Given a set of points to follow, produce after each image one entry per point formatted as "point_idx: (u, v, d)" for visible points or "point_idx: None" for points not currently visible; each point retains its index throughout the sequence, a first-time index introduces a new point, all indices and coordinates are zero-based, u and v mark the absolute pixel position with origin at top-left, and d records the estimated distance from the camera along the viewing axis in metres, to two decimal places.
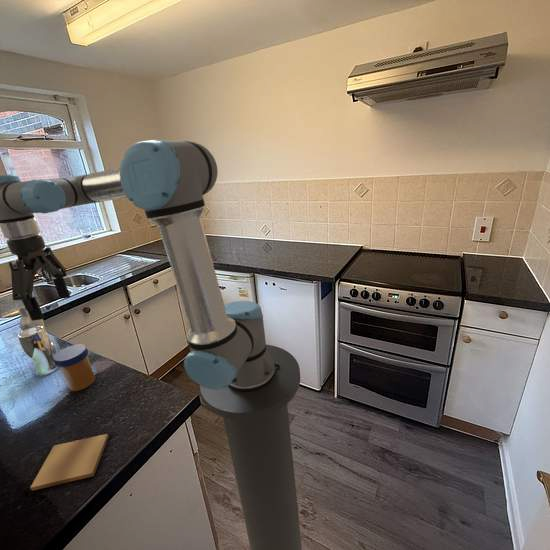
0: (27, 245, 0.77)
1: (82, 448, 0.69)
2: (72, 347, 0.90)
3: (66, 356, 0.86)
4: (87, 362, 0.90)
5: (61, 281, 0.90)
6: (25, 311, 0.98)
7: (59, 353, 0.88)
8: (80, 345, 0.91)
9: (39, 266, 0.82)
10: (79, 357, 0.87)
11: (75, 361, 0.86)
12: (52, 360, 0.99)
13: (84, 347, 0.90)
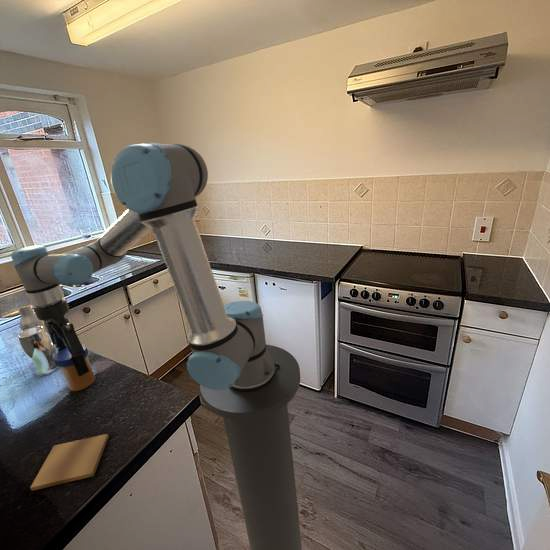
0: None
1: (82, 448, 0.69)
2: None
3: (66, 356, 0.86)
4: (87, 362, 0.90)
5: None
6: (25, 311, 0.98)
7: (59, 353, 0.88)
8: None
9: None
10: None
11: None
12: (52, 360, 0.99)
13: (84, 347, 0.90)
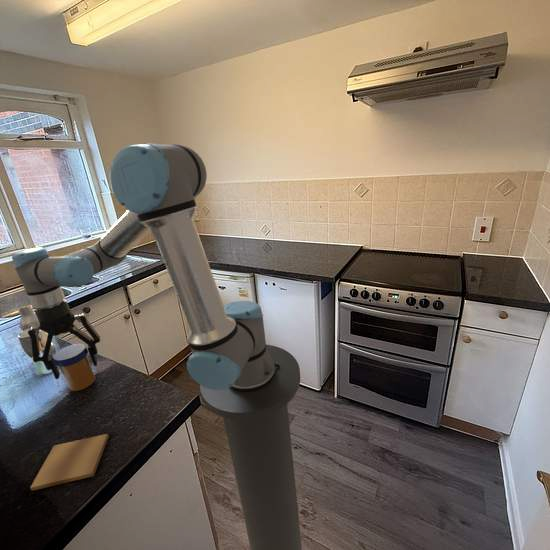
0: (38, 316, 0.80)
1: (82, 448, 0.69)
2: (59, 354, 0.87)
3: (77, 350, 0.88)
4: (87, 362, 0.90)
5: None
6: (25, 311, 0.98)
7: (63, 358, 0.85)
8: (61, 350, 0.89)
9: (59, 332, 0.84)
10: None
11: (86, 348, 0.91)
12: None
13: (70, 345, 0.91)
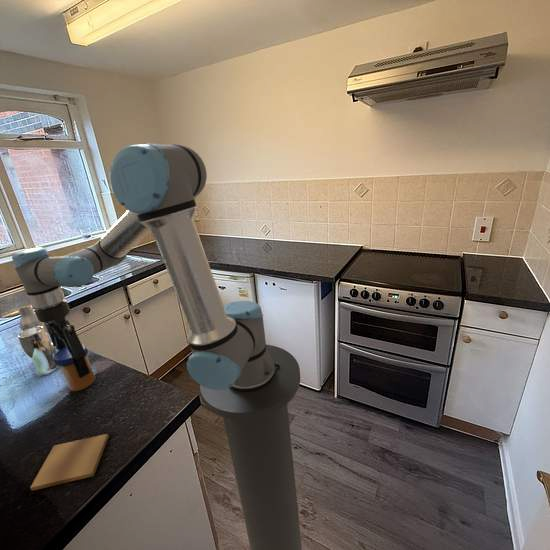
0: None
1: (82, 448, 0.69)
2: (59, 354, 0.87)
3: None
4: (87, 362, 0.90)
5: None
6: (25, 311, 0.98)
7: (63, 358, 0.85)
8: (61, 350, 0.89)
9: None
10: None
11: (86, 348, 0.91)
12: (52, 360, 0.99)
13: None
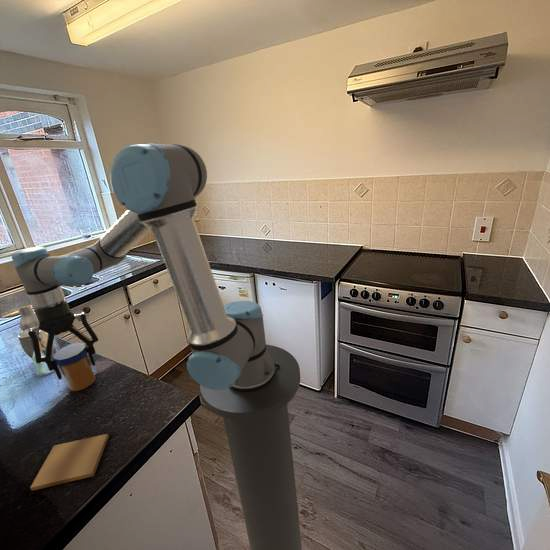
0: (39, 315, 0.80)
1: (82, 448, 0.69)
2: (63, 356, 0.85)
3: (75, 346, 0.90)
4: (87, 362, 0.90)
5: None
6: (25, 311, 0.98)
7: (77, 351, 0.87)
8: (56, 357, 0.85)
9: (59, 331, 0.84)
10: None
11: None
12: None
13: (55, 353, 0.87)
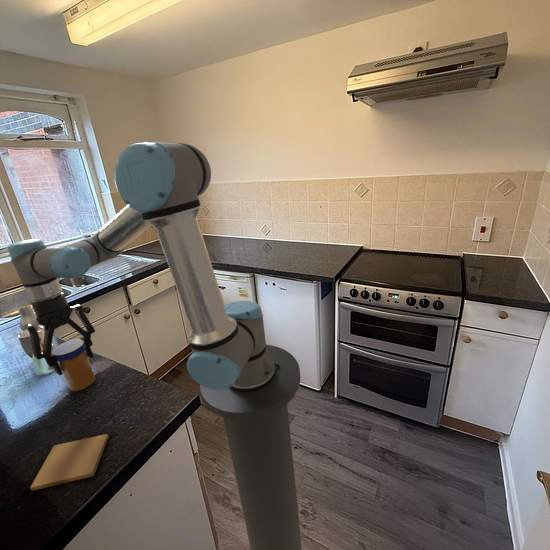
0: (39, 308, 0.79)
1: (82, 448, 0.69)
2: (78, 344, 0.88)
3: (60, 347, 0.87)
4: (87, 362, 0.90)
5: None
6: (25, 311, 0.98)
7: (74, 340, 0.90)
8: (76, 348, 0.86)
9: (58, 324, 0.84)
10: None
11: None
12: None
13: (67, 352, 0.84)
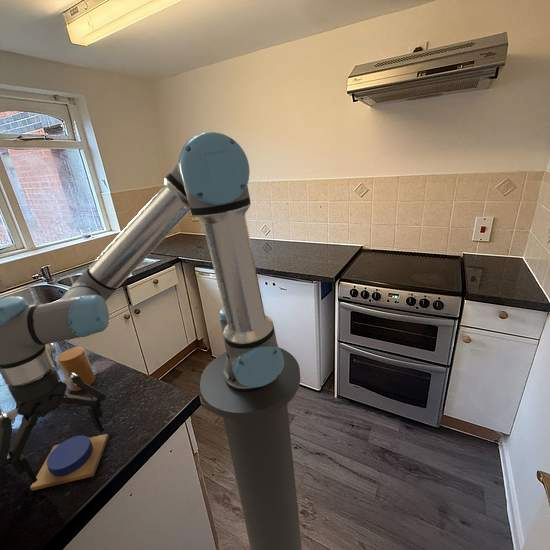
0: (20, 395, 0.55)
1: None
2: (82, 447, 0.66)
3: (59, 453, 0.66)
4: (87, 362, 0.90)
5: (92, 413, 0.68)
6: None
7: (77, 439, 0.69)
8: (79, 455, 0.64)
9: (48, 410, 0.60)
10: (50, 470, 0.63)
11: (49, 469, 0.64)
12: (52, 360, 0.99)
13: (67, 465, 0.63)
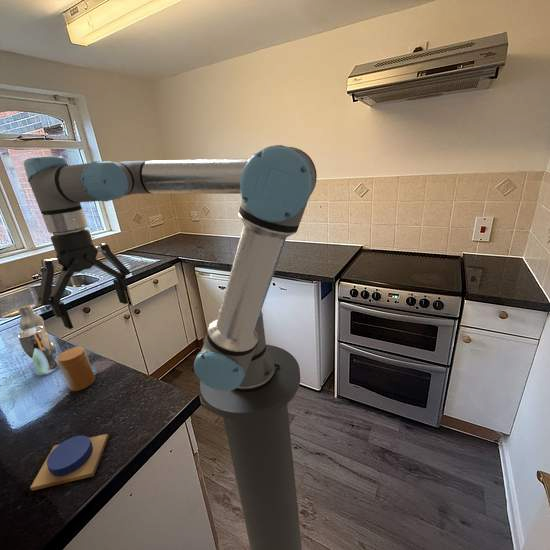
0: (61, 243, 0.64)
1: None
2: (82, 447, 0.66)
3: (59, 453, 0.66)
4: (87, 362, 0.90)
5: (118, 284, 0.77)
6: (25, 311, 0.98)
7: (77, 439, 0.69)
8: (79, 455, 0.64)
9: (82, 267, 0.69)
10: (50, 470, 0.63)
11: (49, 469, 0.64)
12: (52, 360, 0.99)
13: (67, 465, 0.63)
